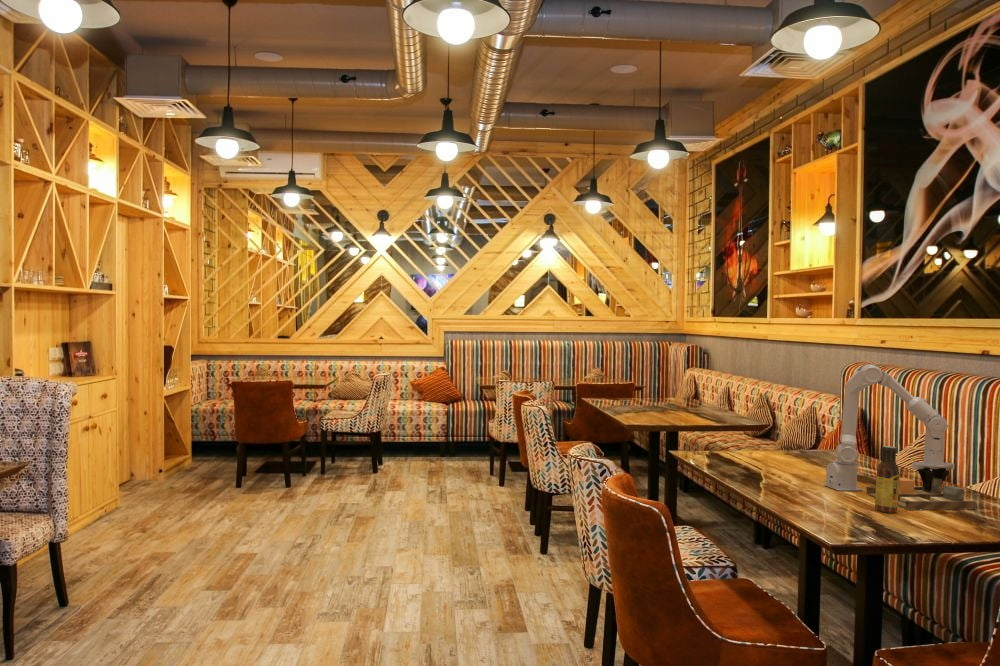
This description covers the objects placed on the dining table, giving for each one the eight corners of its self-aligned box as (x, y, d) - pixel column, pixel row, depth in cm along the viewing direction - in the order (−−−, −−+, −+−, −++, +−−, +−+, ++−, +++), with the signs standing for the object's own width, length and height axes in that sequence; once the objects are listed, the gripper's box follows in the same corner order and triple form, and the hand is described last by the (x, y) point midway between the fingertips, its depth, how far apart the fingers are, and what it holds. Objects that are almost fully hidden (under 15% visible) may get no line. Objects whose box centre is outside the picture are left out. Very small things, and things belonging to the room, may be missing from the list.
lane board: (907, 510, 222) (908, 491, 222) (866, 494, 240) (867, 477, 240) (975, 509, 226) (976, 491, 226) (929, 494, 245) (930, 477, 244)
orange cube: (901, 494, 235) (902, 480, 234) (891, 490, 239) (892, 477, 239) (913, 494, 235) (914, 480, 235) (903, 490, 240) (904, 477, 240)
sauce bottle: (896, 515, 215) (900, 449, 215) (873, 511, 219) (877, 446, 218) (898, 510, 221) (901, 446, 221) (875, 506, 224) (878, 444, 224)
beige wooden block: (900, 498, 233) (901, 480, 233) (885, 492, 240) (886, 475, 240) (943, 498, 236) (944, 480, 236) (927, 492, 243) (928, 475, 243)
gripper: (924, 452, 233) (921, 493, 234) (962, 452, 236) (960, 493, 236) (908, 448, 240) (906, 488, 241) (946, 448, 243) (943, 488, 243)
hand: (931, 490), depth 239 cm, fingers closed on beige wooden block, 3 cm apart
